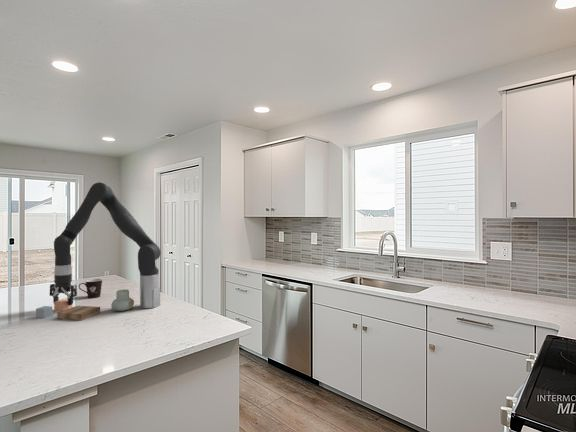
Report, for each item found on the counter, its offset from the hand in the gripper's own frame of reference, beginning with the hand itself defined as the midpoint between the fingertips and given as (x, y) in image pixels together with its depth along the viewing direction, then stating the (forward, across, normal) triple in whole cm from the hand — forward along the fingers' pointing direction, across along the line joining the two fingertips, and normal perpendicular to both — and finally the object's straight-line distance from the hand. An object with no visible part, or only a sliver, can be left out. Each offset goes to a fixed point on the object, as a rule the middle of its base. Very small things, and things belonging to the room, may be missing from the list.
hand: (63, 304), depth 170 cm
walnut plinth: (+3, -16, +7) cm, 18 cm away
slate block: (+3, 0, +11) cm, 12 cm away
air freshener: (+3, -30, -6) cm, 31 cm away
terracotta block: (+3, 0, 0) cm, 3 cm away
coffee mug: (+3, +6, -26) cm, 27 cm away
